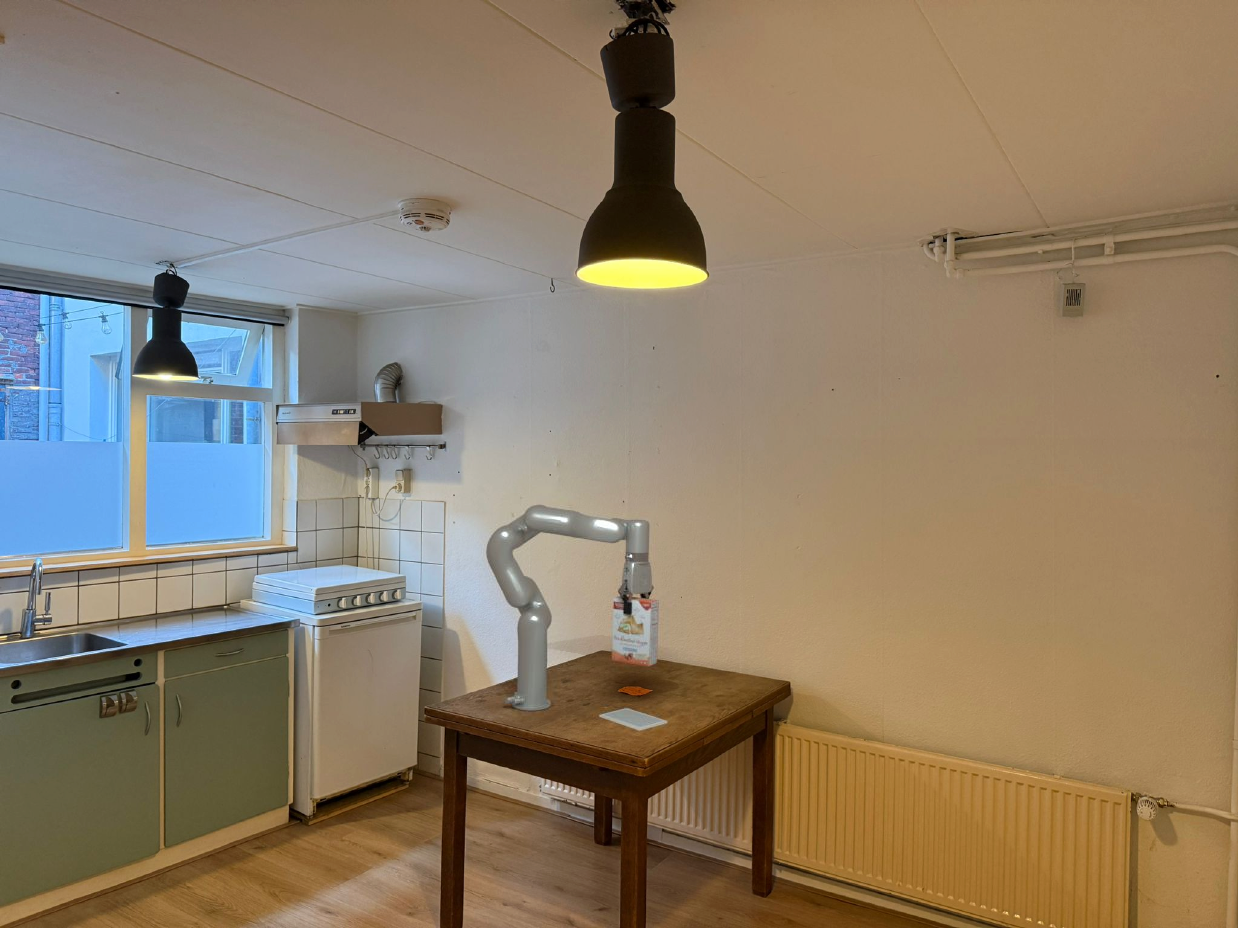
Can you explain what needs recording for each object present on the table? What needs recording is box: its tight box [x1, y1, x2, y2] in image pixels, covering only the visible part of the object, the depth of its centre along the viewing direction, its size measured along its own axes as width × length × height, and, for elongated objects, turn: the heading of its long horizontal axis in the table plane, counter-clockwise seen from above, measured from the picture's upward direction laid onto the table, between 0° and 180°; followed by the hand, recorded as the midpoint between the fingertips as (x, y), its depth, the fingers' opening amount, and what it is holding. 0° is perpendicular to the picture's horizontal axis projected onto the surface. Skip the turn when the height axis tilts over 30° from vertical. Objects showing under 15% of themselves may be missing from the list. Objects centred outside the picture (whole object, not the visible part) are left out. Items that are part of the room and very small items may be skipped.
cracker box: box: [611, 595, 660, 668], centre depth 267 cm, size 14×6×21 cm, turn 60°
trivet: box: [599, 707, 668, 732], centre depth 256 cm, size 12×18×1 cm, turn 44°
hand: (635, 612), depth 267 cm, fingers closed on cracker box, 6 cm apart
